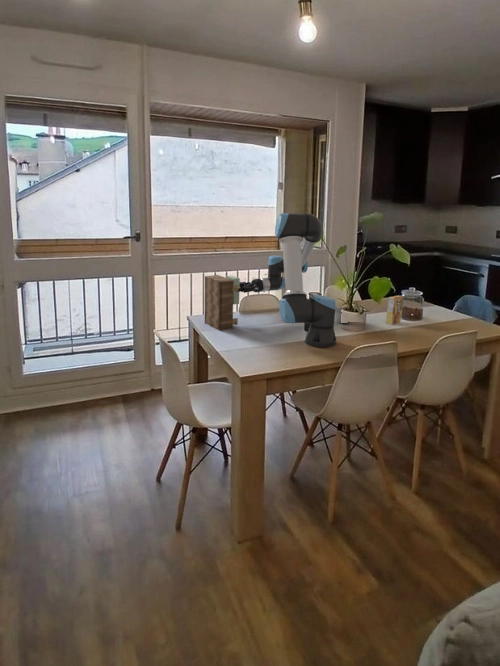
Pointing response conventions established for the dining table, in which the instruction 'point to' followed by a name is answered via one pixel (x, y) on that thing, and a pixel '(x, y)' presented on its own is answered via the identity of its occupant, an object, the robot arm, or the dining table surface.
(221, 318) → the cabinet
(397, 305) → the candy box
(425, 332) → the dining table surface
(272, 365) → the dining table surface
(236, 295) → the pale green tall block
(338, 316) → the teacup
